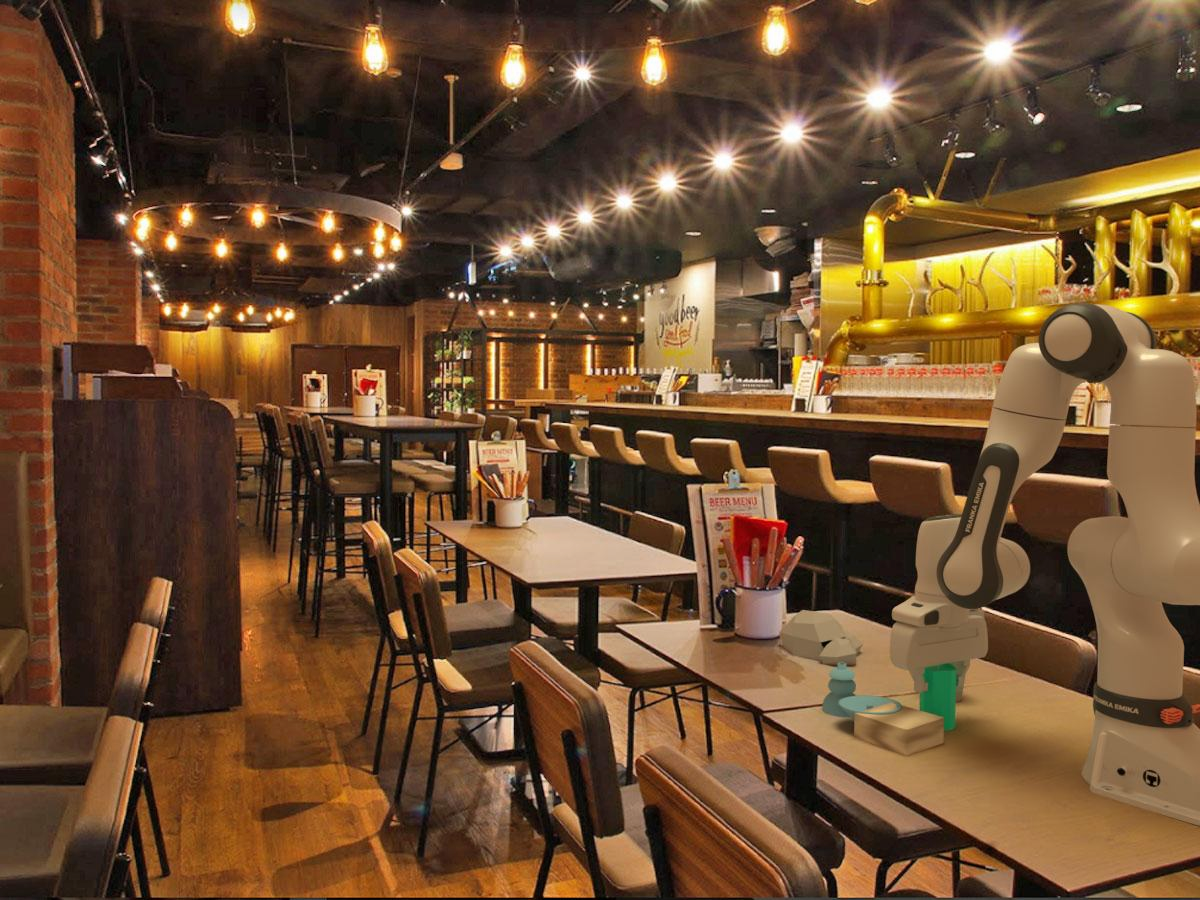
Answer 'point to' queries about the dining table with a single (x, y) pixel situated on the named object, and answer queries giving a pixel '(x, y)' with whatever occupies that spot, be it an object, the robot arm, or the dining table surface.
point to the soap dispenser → (850, 696)
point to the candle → (940, 693)
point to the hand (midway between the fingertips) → (939, 688)
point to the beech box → (900, 729)
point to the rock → (819, 639)
